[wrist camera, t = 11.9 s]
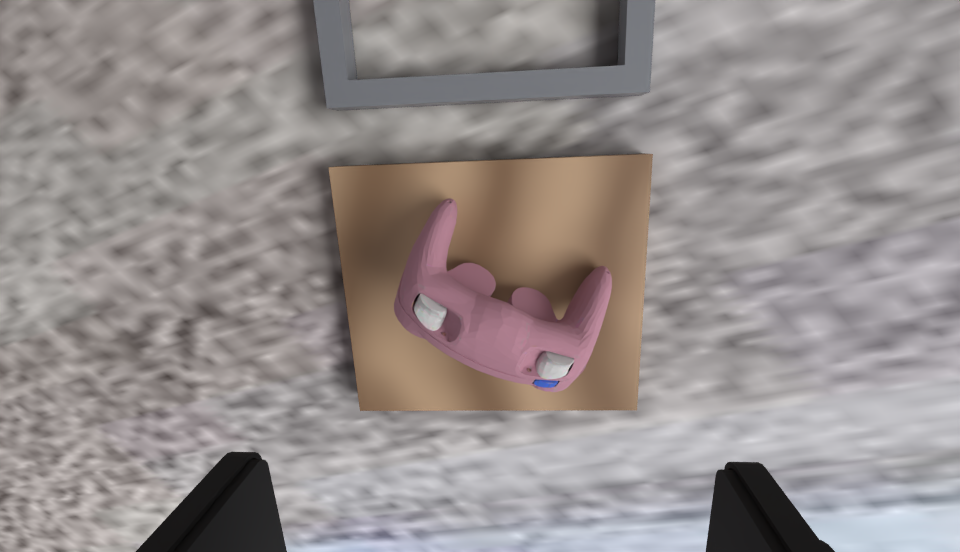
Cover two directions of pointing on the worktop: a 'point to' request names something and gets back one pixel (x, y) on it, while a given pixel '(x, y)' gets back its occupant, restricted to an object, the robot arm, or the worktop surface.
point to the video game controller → (496, 314)
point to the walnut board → (495, 269)
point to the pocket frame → (482, 87)
